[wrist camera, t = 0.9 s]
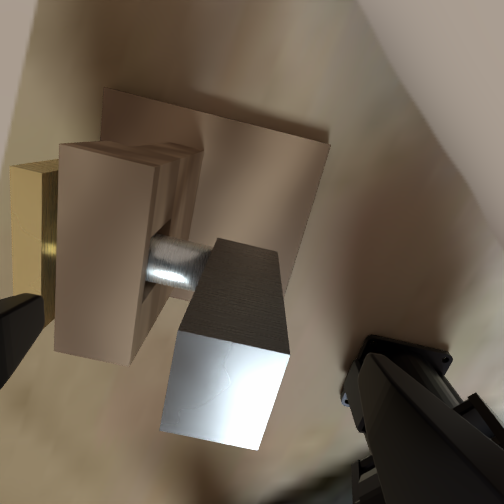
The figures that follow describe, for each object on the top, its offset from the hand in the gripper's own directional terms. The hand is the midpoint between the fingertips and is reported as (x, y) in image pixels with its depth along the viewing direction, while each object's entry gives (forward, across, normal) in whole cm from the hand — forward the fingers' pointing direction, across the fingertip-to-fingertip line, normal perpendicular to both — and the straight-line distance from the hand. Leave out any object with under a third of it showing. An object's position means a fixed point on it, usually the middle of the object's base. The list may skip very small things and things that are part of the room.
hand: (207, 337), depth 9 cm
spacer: (+9, +7, 0) cm, 11 cm away
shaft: (+6, +3, 0) cm, 7 cm away
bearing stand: (+13, +2, 0) cm, 13 cm away
